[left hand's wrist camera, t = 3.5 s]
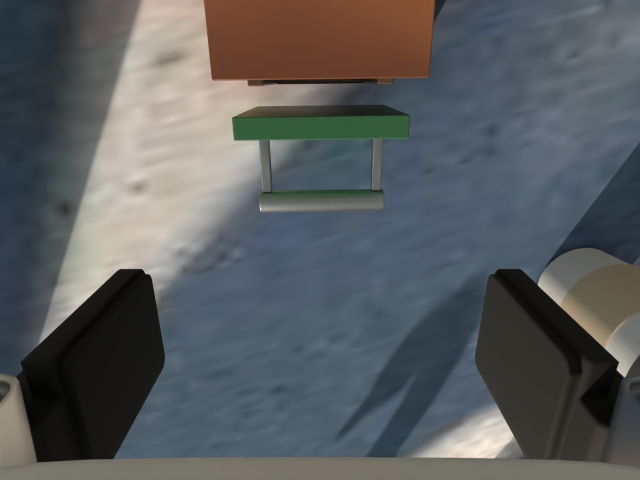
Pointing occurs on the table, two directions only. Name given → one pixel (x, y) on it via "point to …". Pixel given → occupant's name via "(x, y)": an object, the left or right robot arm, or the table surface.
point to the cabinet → (319, 39)
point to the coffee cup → (600, 300)
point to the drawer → (315, 126)
